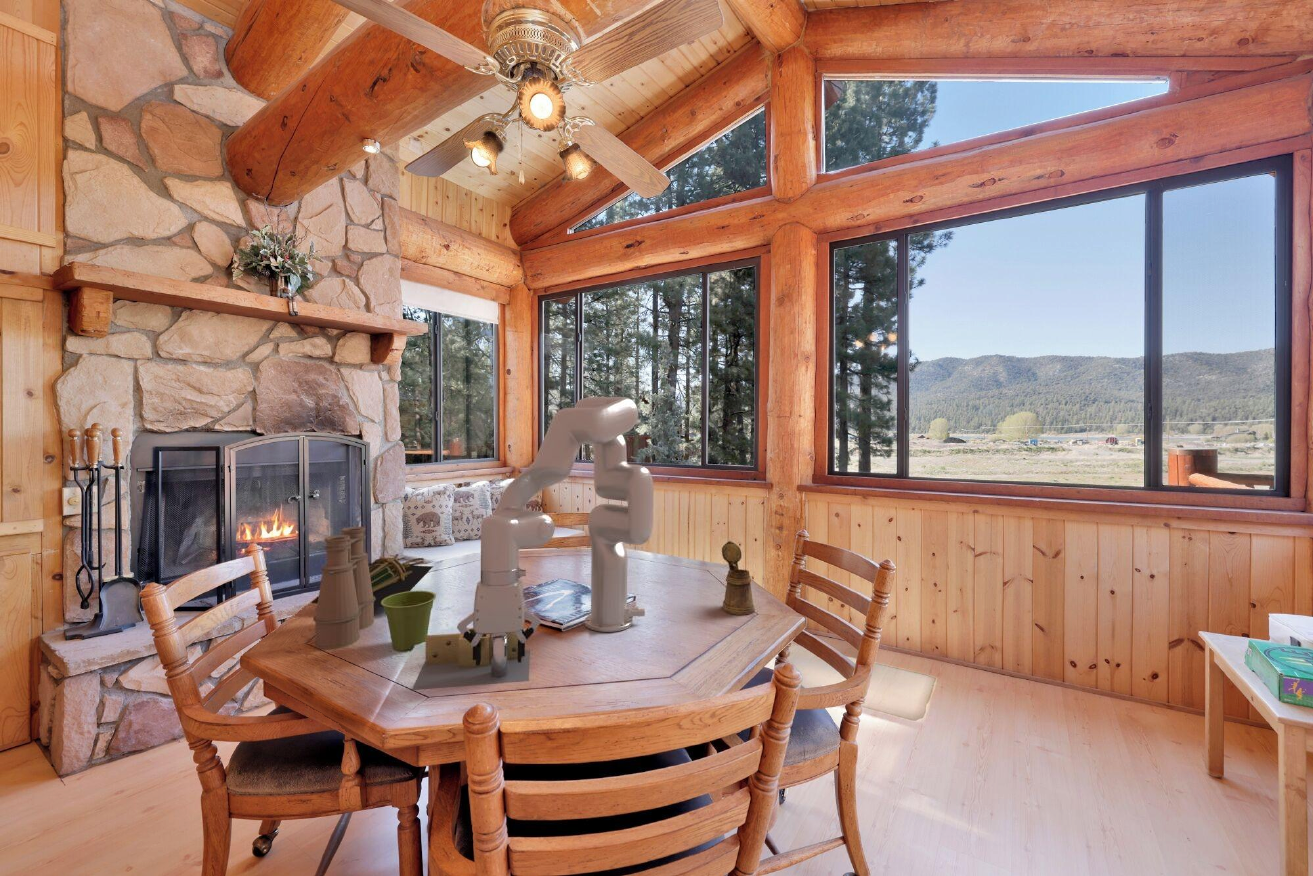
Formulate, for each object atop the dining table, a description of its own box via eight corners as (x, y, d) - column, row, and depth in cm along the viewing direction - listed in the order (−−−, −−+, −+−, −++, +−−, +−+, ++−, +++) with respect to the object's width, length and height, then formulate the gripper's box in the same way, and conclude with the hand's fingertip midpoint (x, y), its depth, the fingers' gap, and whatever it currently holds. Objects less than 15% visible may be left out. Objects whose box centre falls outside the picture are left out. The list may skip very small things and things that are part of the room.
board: (530, 655, 126) (530, 650, 126) (528, 686, 111) (528, 680, 111) (427, 662, 121) (427, 657, 121) (411, 696, 106) (411, 690, 106)
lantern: (312, 626, 152) (370, 569, 180) (395, 636, 151) (441, 577, 180) (308, 583, 148) (369, 531, 176) (393, 593, 147) (440, 540, 176)
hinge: (523, 651, 125) (523, 625, 125) (522, 663, 119) (523, 635, 119) (428, 657, 121) (428, 630, 121) (422, 670, 115) (422, 641, 115)
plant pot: (396, 635, 136) (396, 589, 136) (444, 636, 136) (444, 591, 136) (370, 655, 124) (370, 606, 124) (422, 656, 124) (422, 607, 124)
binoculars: (352, 648, 128) (352, 541, 127) (305, 650, 126) (305, 542, 126) (380, 617, 148) (380, 524, 148) (340, 618, 147) (340, 525, 146)
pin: (507, 669, 116) (507, 632, 115) (506, 676, 112) (506, 637, 112) (491, 671, 115) (491, 633, 115) (490, 678, 112) (490, 639, 112)
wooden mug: (742, 599, 168) (743, 540, 168) (759, 614, 155) (760, 550, 154) (714, 600, 166) (715, 541, 166) (728, 616, 153) (729, 551, 153)
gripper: (543, 569, 119) (542, 651, 119) (457, 573, 115) (457, 656, 115) (543, 579, 111) (542, 666, 112) (452, 583, 108) (451, 672, 108)
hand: (499, 660), depth 114 cm, fingers open, 7 cm apart
